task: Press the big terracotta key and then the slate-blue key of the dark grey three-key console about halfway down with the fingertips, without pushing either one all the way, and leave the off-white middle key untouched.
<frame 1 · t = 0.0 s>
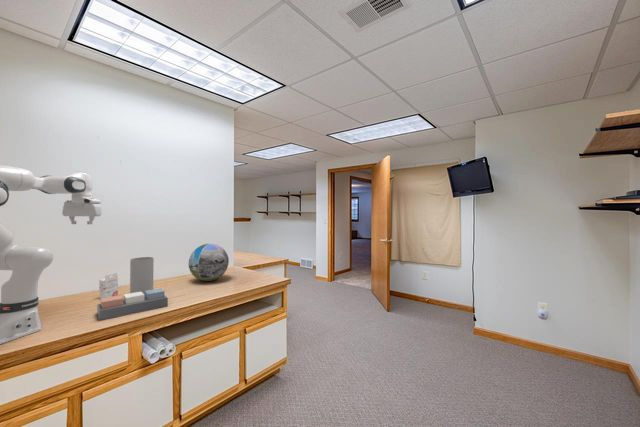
hand: (81, 224, 152), 48 cm above the table, tool pointing down, fingers open, 8 cm apart
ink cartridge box: (108, 296, 171), on the table
slate key: (154, 294, 156), point 6 cm above the table, slide at 0.0 cm
white key: (133, 298, 149), point 6 cm above the table, slide at 0.0 cm
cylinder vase: (141, 297, 171), on the table
terracotta key: (111, 302, 142), point 6 cm above the table, slide at 0.0 cm
globe: (209, 280, 213), on the table
key console: (133, 309, 149), on the table
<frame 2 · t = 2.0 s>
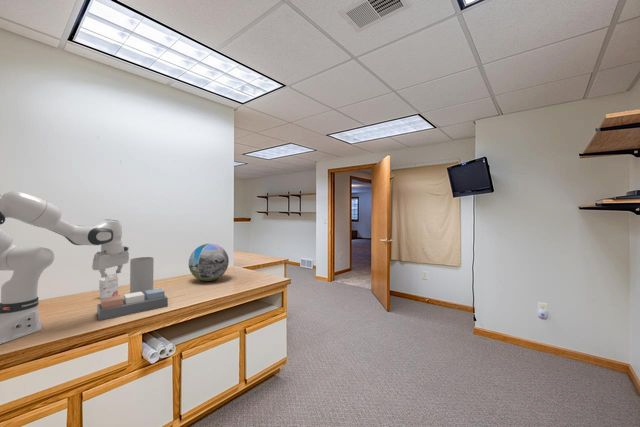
hand: (111, 275, 142), 21 cm above the table, tool pointing down, fingers open, 8 cm apart
nothing on the table moved.
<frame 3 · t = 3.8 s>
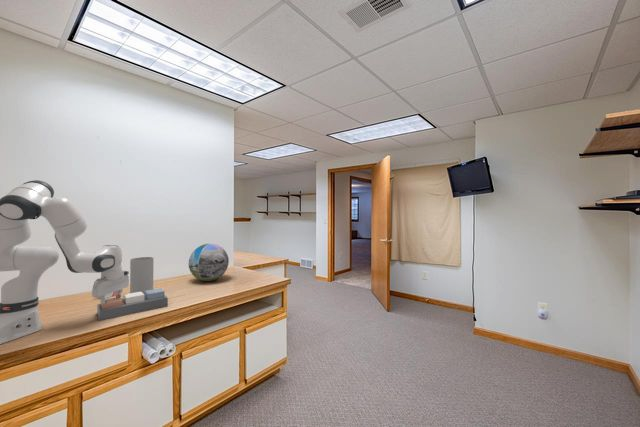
hand: (111, 300, 141), 8 cm above the table, tool pointing down, fingers open, 8 cm apart
terracotta key: (111, 304, 142), point 5 cm above the table, slide at 1.0 cm, touching gripper
everything else where it was.
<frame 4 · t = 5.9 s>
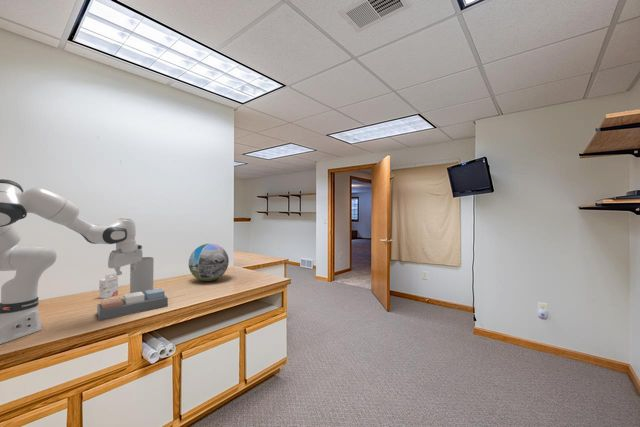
hand: (126, 272, 145), 22 cm above the table, tool pointing down, fingers open, 8 cm apart
terracotta key: (111, 304, 142), point 5 cm above the table, slide at 1.4 cm
everything else where it was.
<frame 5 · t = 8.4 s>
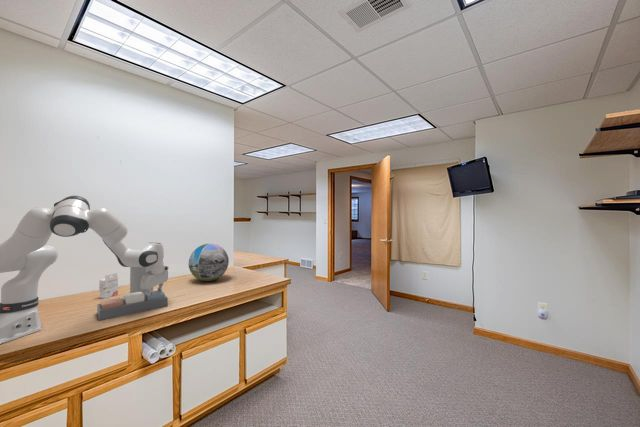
hand: (154, 292, 155), 7 cm above the table, tool pointing down, fingers open, 8 cm apart
slate key: (154, 296, 156), point 5 cm above the table, slide at 1.1 cm, touching gripper
everything else where it was.
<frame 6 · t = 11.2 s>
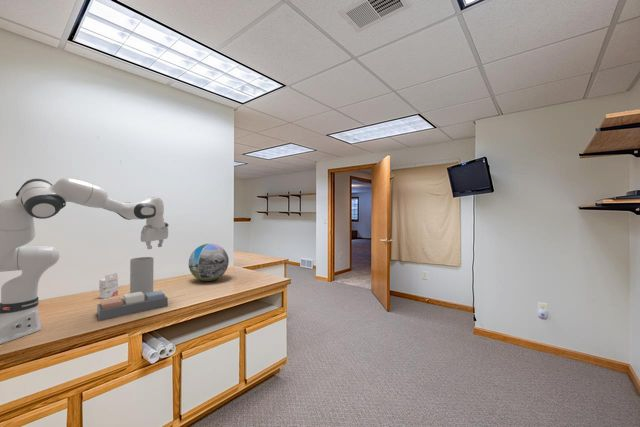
hand: (154, 248, 156), 34 cm above the table, tool pointing down, fingers open, 8 cm apart
slate key: (154, 296, 156), point 5 cm above the table, slide at 1.4 cm
everything else where it was.
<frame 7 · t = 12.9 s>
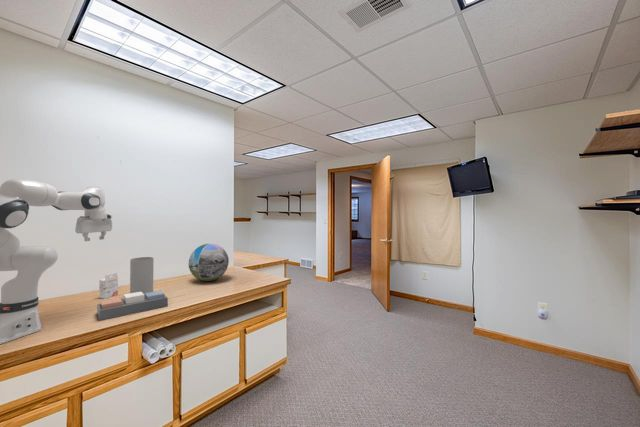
hand: (94, 240, 149), 39 cm above the table, tool pointing down, fingers open, 8 cm apart
nothing on the table moved.
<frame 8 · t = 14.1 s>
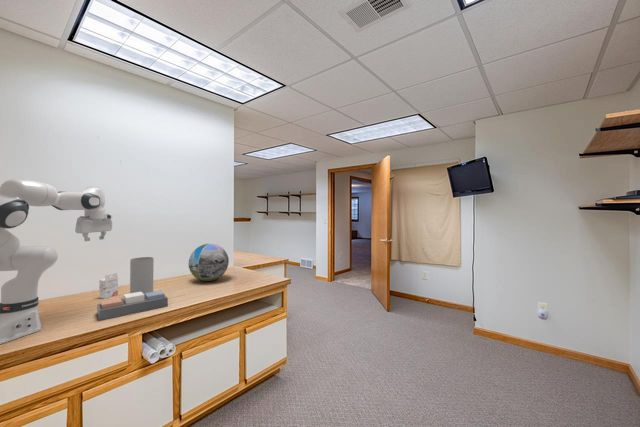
hand: (94, 240, 149), 39 cm above the table, tool pointing down, fingers open, 8 cm apart
nothing on the table moved.
at the end: terracotta key slide at 1.4 cm; slate key slide at 1.4 cm; white key slide at 0.0 cm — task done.
